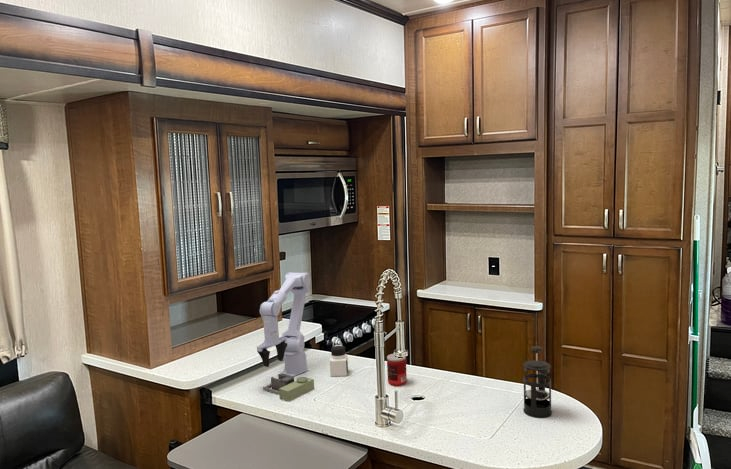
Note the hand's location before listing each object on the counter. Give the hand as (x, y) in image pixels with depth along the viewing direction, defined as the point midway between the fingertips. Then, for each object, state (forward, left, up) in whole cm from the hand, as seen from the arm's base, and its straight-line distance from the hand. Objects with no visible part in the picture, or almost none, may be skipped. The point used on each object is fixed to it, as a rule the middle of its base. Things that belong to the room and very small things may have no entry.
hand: (273, 363), depth 213 cm
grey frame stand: (0, +7, -10) cm, 12 cm away
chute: (0, +5, -10) cm, 11 cm away
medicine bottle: (-25, +13, -10) cm, 30 cm away
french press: (-35, +96, -10) cm, 103 cm away
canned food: (-30, +40, -10) cm, 51 cm away
